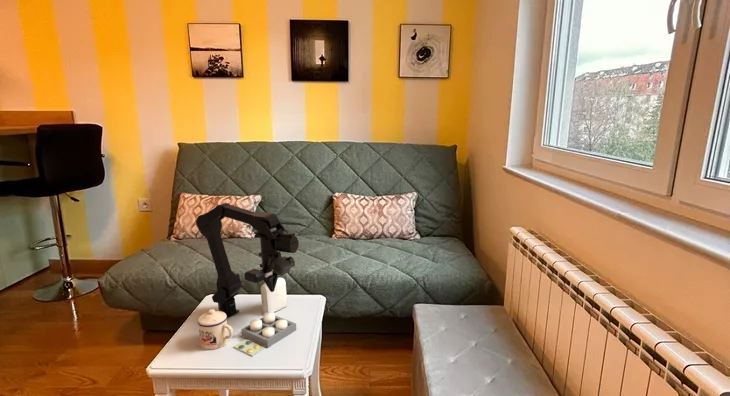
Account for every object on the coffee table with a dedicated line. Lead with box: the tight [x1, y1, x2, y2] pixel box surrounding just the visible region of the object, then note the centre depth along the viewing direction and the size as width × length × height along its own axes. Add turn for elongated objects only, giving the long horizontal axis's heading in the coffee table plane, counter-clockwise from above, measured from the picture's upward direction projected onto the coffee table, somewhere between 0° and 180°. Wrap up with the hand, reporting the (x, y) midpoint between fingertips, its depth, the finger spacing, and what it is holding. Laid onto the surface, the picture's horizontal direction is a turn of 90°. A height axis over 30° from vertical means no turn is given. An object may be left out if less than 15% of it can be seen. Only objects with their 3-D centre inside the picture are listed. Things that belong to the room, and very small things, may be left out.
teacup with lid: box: [197, 308, 234, 350], centre depth 132 cm, size 12×9×12 cm
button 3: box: [262, 312, 276, 325], centre depth 143 cm, size 4×4×3 cm
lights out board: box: [233, 315, 297, 357], centre depth 137 cm, size 13×19×2 cm
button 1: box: [249, 318, 262, 333], centre depth 138 cm, size 4×4×3 cm
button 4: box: [275, 319, 288, 330], centre depth 140 cm, size 4×4×3 cm
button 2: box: [262, 327, 275, 338], centre depth 135 cm, size 4×4×3 cm
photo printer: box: [260, 277, 288, 315], centre depth 155 cm, size 10×4×12 cm, turn 141°
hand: (272, 291), depth 144 cm, fingers closed
